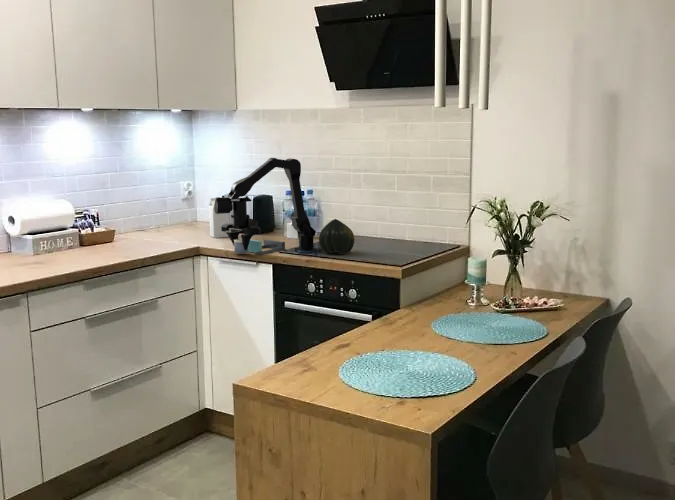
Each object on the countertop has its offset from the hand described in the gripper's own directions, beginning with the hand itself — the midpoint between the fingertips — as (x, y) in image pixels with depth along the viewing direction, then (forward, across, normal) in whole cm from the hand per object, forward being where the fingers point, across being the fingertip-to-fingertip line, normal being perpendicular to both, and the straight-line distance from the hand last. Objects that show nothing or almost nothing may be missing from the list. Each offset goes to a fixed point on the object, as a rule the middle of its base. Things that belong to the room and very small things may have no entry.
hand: (241, 249), depth 311 cm
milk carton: (+2, +47, -26) cm, 54 cm away
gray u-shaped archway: (+2, 0, -13) cm, 13 cm away
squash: (+2, -29, -28) cm, 40 cm away
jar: (+1, 0, 0) cm, 1 cm away
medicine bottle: (+2, +15, -48) cm, 50 cm away
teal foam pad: (+2, 0, -7) cm, 7 cm away
